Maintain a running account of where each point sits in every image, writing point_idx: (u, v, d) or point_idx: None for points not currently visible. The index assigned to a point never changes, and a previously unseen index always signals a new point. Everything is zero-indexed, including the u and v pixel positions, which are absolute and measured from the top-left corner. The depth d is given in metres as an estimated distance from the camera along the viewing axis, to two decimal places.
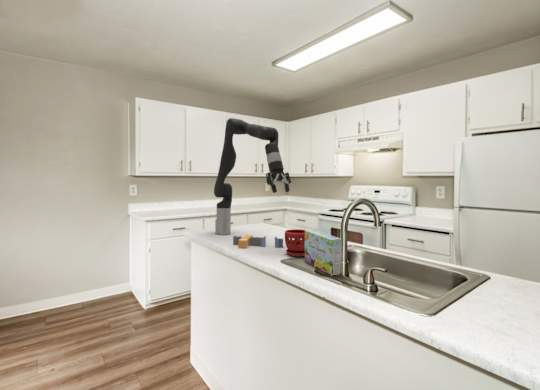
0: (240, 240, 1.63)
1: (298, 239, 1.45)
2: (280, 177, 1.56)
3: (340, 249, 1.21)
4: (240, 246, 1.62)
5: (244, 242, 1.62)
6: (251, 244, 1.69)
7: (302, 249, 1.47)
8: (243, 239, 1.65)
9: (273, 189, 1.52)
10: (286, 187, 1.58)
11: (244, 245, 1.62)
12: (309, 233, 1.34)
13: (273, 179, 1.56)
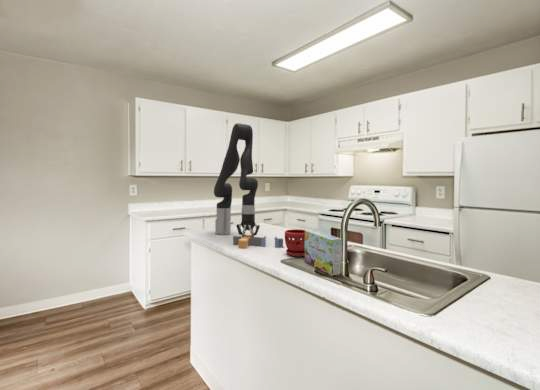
0: (240, 240, 1.63)
1: (297, 240, 1.45)
2: (247, 227, 1.73)
3: (340, 249, 1.21)
4: (240, 246, 1.62)
5: (244, 242, 1.62)
6: (251, 244, 1.69)
7: (302, 249, 1.47)
8: (243, 239, 1.65)
9: None
10: None
11: (244, 245, 1.62)
12: (309, 233, 1.34)
13: None
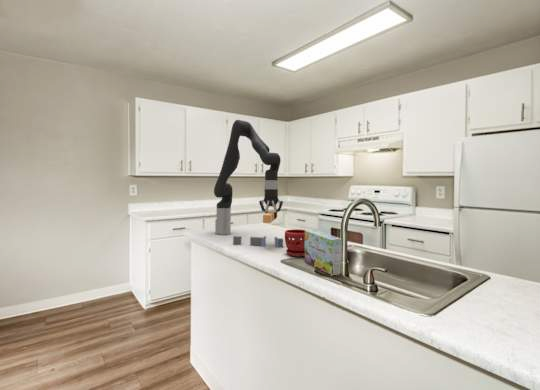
0: (264, 215, 1.60)
1: (297, 239, 1.45)
2: (270, 203, 1.70)
3: (340, 249, 1.21)
4: (265, 221, 1.59)
5: (269, 216, 1.58)
6: (251, 244, 1.69)
7: (302, 249, 1.47)
8: (267, 214, 1.61)
9: None
10: (274, 214, 1.71)
11: (269, 220, 1.58)
12: (309, 233, 1.34)
13: None
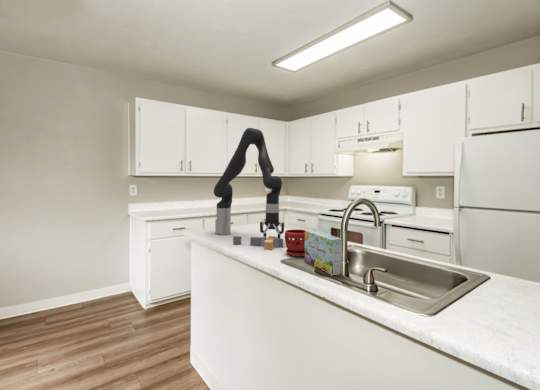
0: (266, 241, 1.61)
1: (297, 239, 1.45)
2: (272, 226, 1.71)
3: (340, 249, 1.21)
4: (266, 247, 1.60)
5: (270, 243, 1.60)
6: (251, 244, 1.69)
7: (302, 249, 1.47)
8: (268, 240, 1.62)
9: (263, 237, 1.73)
10: None
11: (270, 247, 1.60)
12: (309, 233, 1.34)
13: None
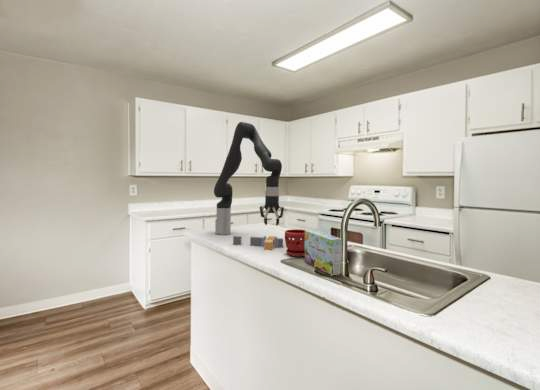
0: (266, 241, 1.61)
1: (297, 239, 1.45)
2: (271, 210, 1.68)
3: (340, 249, 1.21)
4: (266, 247, 1.60)
5: (270, 243, 1.60)
6: (251, 244, 1.69)
7: (302, 249, 1.47)
8: (268, 240, 1.62)
9: (264, 222, 1.70)
10: (276, 221, 1.69)
11: (270, 247, 1.60)
12: (309, 233, 1.34)
13: None
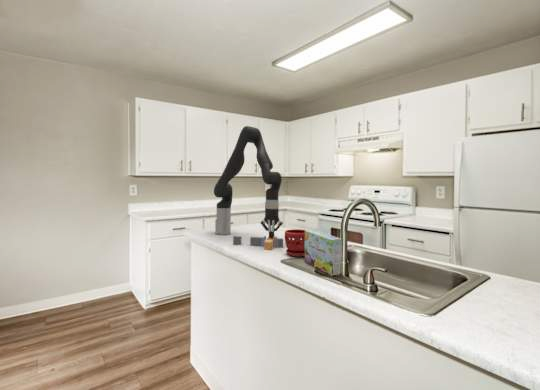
0: (266, 241, 1.61)
1: (297, 240, 1.45)
2: (270, 221, 1.69)
3: (340, 249, 1.21)
4: (266, 247, 1.60)
5: (270, 243, 1.60)
6: (251, 244, 1.69)
7: (302, 249, 1.47)
8: (268, 240, 1.62)
9: None
10: None
11: (270, 247, 1.60)
12: (309, 233, 1.34)
13: None
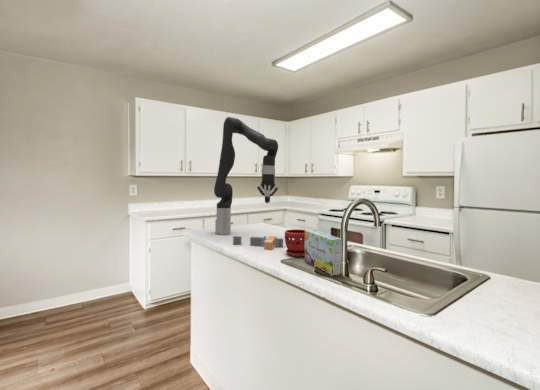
0: (266, 241, 1.61)
1: (297, 239, 1.45)
2: (267, 186, 1.76)
3: (340, 249, 1.21)
4: (266, 247, 1.60)
5: (270, 243, 1.60)
6: (251, 244, 1.69)
7: (302, 249, 1.47)
8: (268, 240, 1.62)
9: None
10: None
11: (270, 247, 1.60)
12: (309, 233, 1.34)
13: None
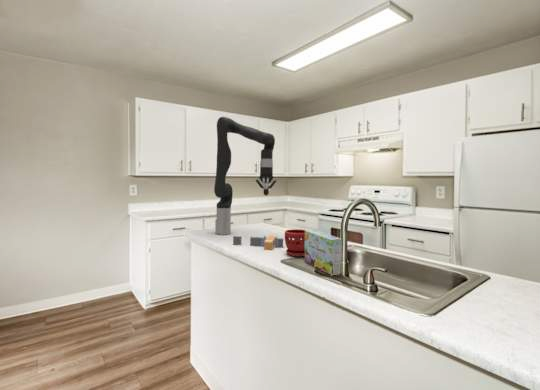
0: (266, 241, 1.61)
1: (297, 239, 1.45)
2: (265, 179, 1.82)
3: (340, 249, 1.21)
4: (266, 247, 1.60)
5: (270, 243, 1.60)
6: (251, 244, 1.69)
7: (302, 249, 1.47)
8: (268, 240, 1.62)
9: None
10: None
11: (270, 247, 1.60)
12: (309, 233, 1.34)
13: None
